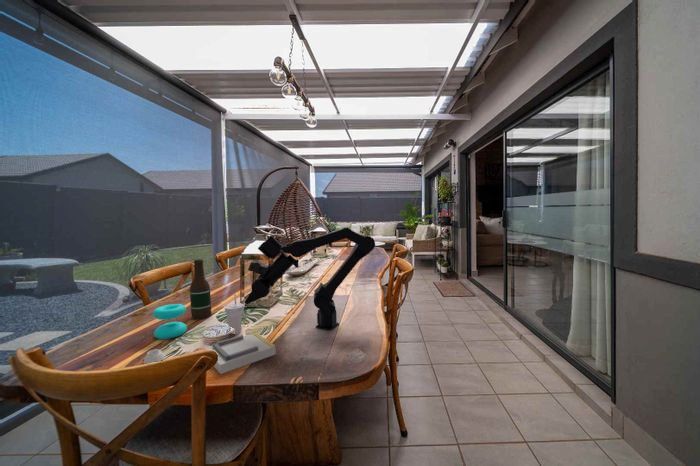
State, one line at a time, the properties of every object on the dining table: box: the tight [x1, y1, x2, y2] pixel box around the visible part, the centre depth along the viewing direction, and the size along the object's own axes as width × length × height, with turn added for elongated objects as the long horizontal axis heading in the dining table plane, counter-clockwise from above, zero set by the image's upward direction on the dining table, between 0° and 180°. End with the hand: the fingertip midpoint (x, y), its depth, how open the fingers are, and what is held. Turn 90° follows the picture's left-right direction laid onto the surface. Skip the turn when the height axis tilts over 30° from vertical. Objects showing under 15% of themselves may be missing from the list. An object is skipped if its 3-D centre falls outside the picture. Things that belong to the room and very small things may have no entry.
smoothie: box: [224, 293, 245, 335], centre depth 106 cm, size 6×6×14 cm
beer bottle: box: [189, 259, 212, 320], centre depth 123 cm, size 8×8×24 cm
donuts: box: [152, 303, 188, 340], centre depth 105 cm, size 10×10×10 cm
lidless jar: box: [143, 348, 165, 365], centre depth 86 cm, size 5×3×5 cm
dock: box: [204, 332, 277, 375], centre depth 89 cm, size 16×14×4 cm
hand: (248, 299), depth 106 cm, fingers open, 9 cm apart
